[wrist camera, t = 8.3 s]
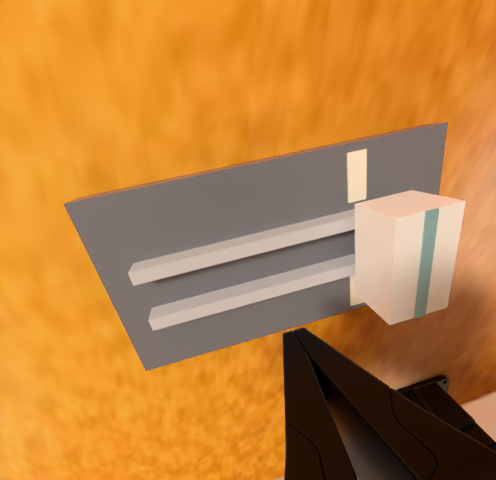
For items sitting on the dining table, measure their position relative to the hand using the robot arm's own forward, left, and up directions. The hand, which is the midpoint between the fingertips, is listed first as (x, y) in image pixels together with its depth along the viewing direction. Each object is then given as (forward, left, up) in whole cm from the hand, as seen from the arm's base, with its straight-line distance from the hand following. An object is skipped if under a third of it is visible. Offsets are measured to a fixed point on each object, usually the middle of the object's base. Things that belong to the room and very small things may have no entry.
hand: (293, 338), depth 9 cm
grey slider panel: (0, -2, -8) cm, 9 cm away
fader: (0, -8, -7) cm, 10 cm away
